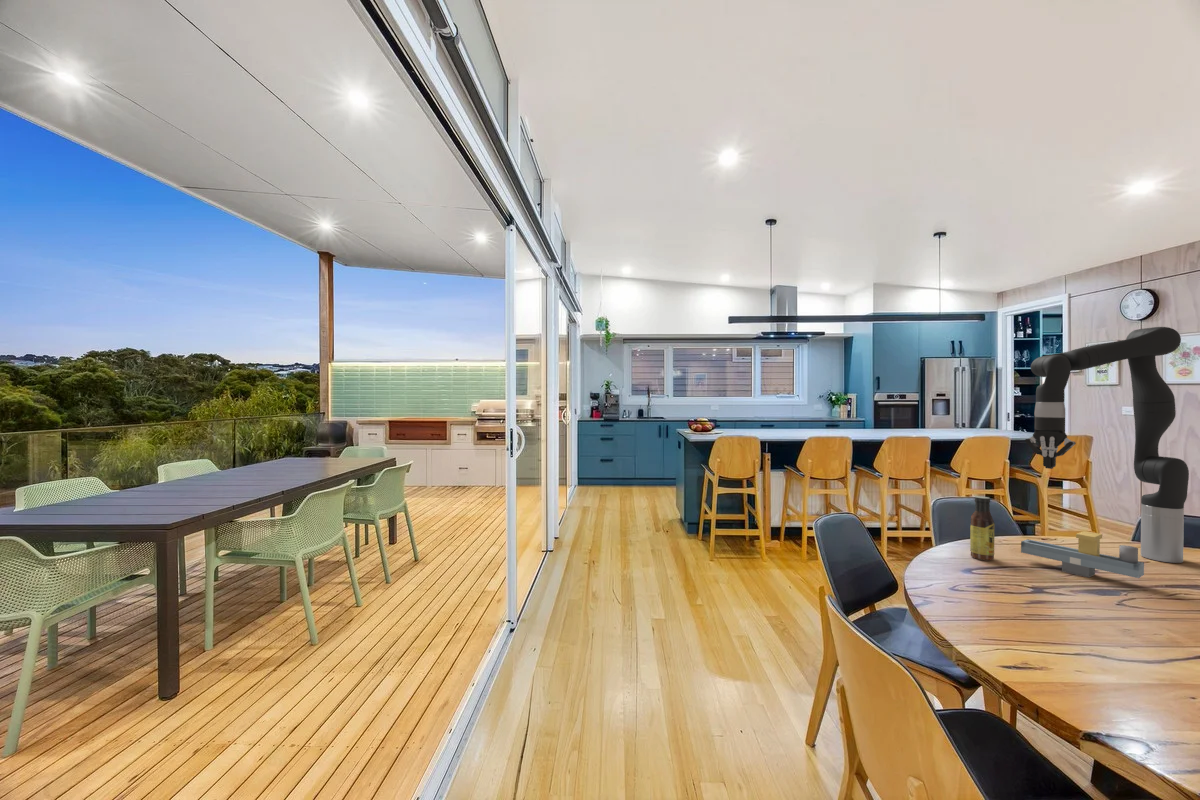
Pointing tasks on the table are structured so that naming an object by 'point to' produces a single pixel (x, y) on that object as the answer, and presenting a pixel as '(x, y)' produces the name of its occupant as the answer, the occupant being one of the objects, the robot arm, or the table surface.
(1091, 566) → the beam
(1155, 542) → the robot arm
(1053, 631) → the table surface
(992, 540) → the sauce bottle
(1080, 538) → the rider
